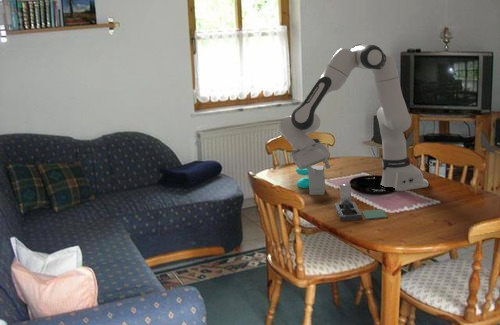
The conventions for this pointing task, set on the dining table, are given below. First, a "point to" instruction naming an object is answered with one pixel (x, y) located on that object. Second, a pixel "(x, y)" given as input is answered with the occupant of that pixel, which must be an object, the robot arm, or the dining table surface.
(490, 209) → the dining table surface
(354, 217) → the grey double frame
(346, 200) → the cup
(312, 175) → the supplement box
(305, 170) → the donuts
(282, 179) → the dining table surface
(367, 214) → the mat
